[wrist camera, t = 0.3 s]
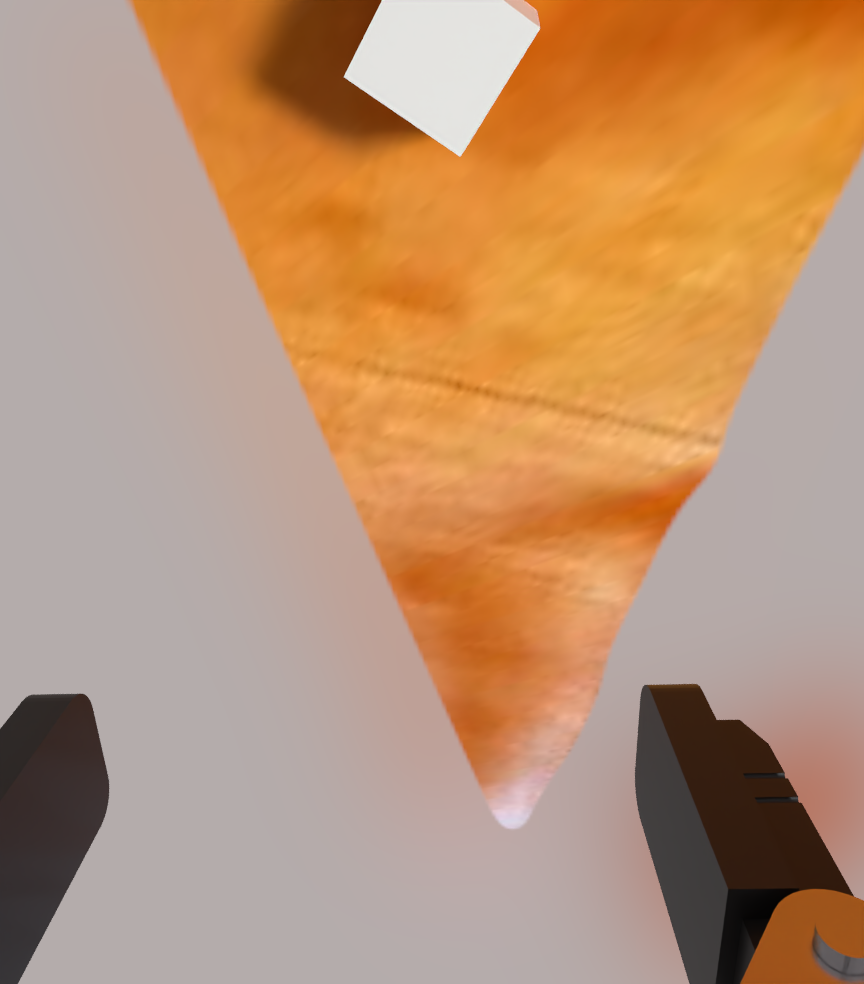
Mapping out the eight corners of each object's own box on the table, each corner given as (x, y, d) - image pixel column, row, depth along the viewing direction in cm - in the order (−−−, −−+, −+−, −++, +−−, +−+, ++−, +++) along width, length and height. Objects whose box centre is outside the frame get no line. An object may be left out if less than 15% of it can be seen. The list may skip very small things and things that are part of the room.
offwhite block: (364, 54, 33) (343, 76, 29) (428, -73, 30) (415, -67, 26) (466, 125, 34) (460, 156, 30) (537, 10, 32) (540, 28, 28)
